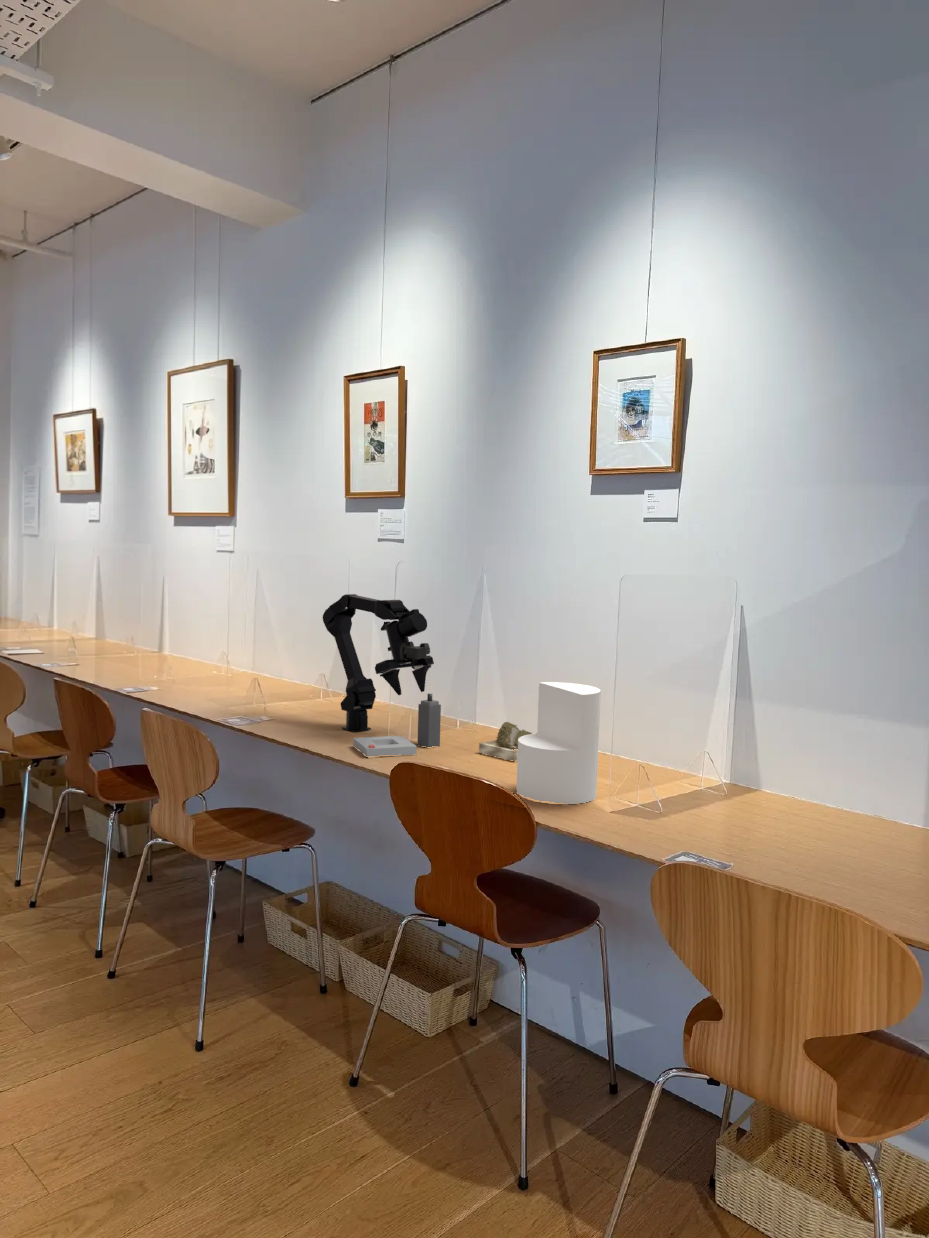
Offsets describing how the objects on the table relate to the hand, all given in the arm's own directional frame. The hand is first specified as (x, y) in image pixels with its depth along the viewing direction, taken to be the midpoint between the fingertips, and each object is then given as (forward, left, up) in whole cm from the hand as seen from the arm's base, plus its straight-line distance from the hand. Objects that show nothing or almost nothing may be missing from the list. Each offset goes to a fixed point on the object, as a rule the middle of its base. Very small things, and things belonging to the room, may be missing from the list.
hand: (411, 693), depth 261 cm
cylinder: (+61, -10, -15) cm, 64 cm away
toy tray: (+28, +16, -14) cm, 36 cm away
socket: (+3, -13, -14) cm, 20 cm away
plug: (+6, +1, -14) cm, 16 cm away
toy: (+29, +16, -14) cm, 36 cm away
